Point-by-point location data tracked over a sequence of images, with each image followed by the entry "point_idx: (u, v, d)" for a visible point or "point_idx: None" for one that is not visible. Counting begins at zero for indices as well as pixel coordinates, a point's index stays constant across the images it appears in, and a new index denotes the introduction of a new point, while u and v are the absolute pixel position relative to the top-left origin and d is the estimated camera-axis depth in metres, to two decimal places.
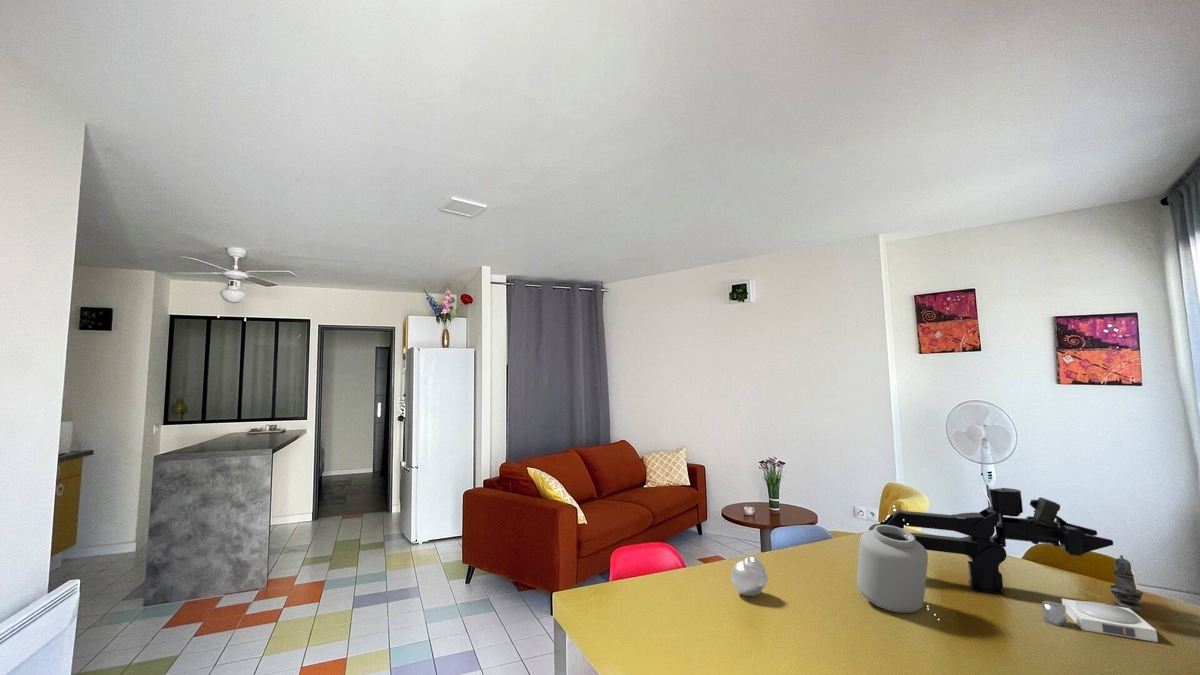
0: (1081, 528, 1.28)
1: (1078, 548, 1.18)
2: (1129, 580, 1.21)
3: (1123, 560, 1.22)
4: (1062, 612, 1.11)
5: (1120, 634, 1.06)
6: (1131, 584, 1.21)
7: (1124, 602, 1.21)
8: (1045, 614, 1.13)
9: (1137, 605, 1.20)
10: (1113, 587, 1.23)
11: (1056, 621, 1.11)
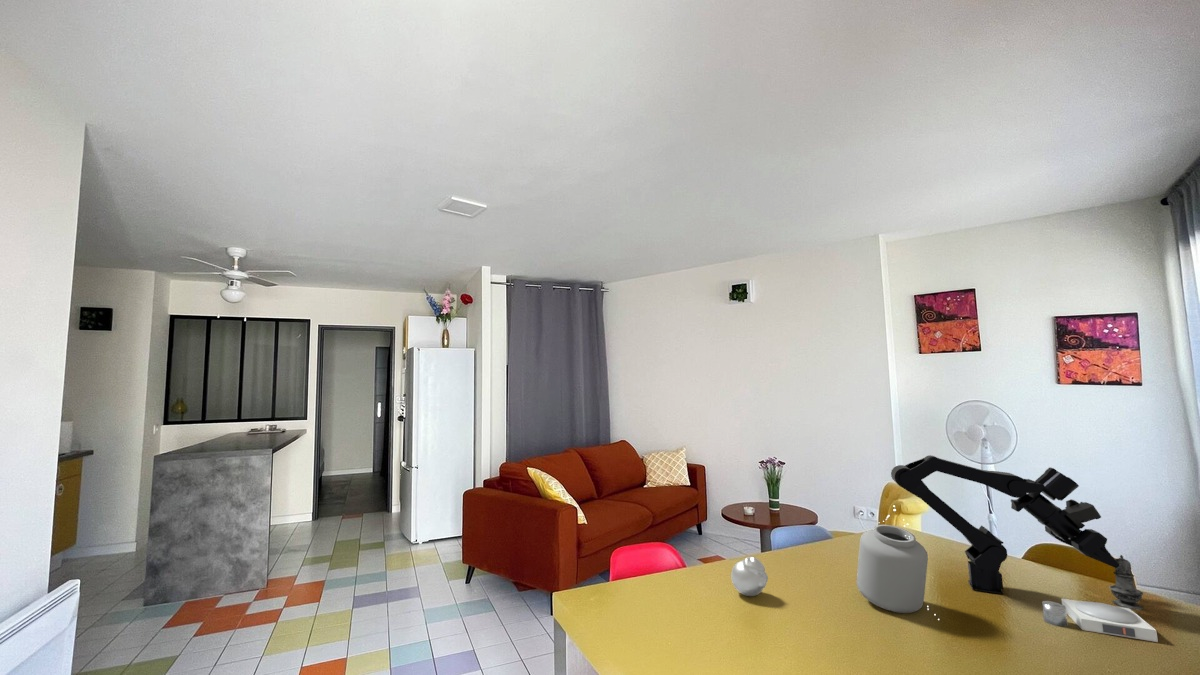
0: None
1: (1092, 550, 1.18)
2: (1129, 580, 1.21)
3: (1123, 560, 1.22)
4: (1062, 612, 1.11)
5: (1120, 634, 1.06)
6: (1131, 584, 1.21)
7: (1124, 602, 1.21)
8: (1045, 614, 1.13)
9: (1137, 605, 1.20)
10: (1113, 587, 1.23)
11: (1056, 621, 1.11)
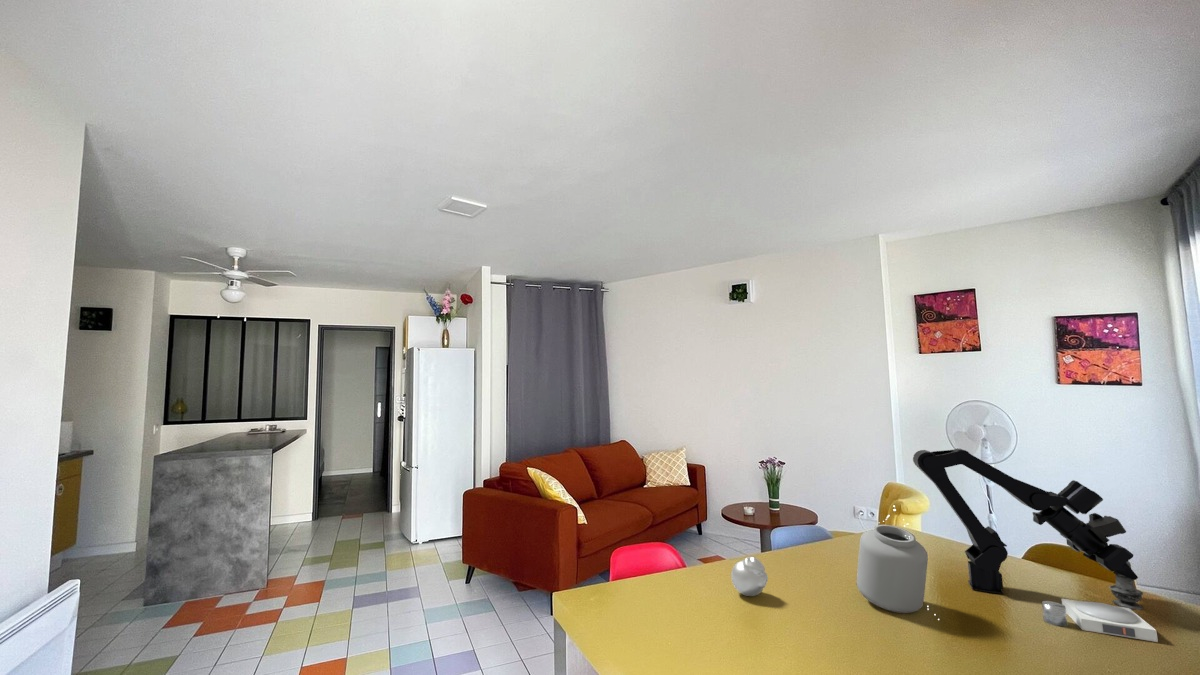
0: None
1: (1118, 565, 1.16)
2: (1129, 580, 1.21)
3: None
4: (1062, 612, 1.11)
5: (1120, 634, 1.06)
6: (1131, 584, 1.21)
7: (1124, 602, 1.21)
8: (1045, 614, 1.13)
9: (1137, 605, 1.20)
10: (1113, 587, 1.23)
11: (1056, 621, 1.11)
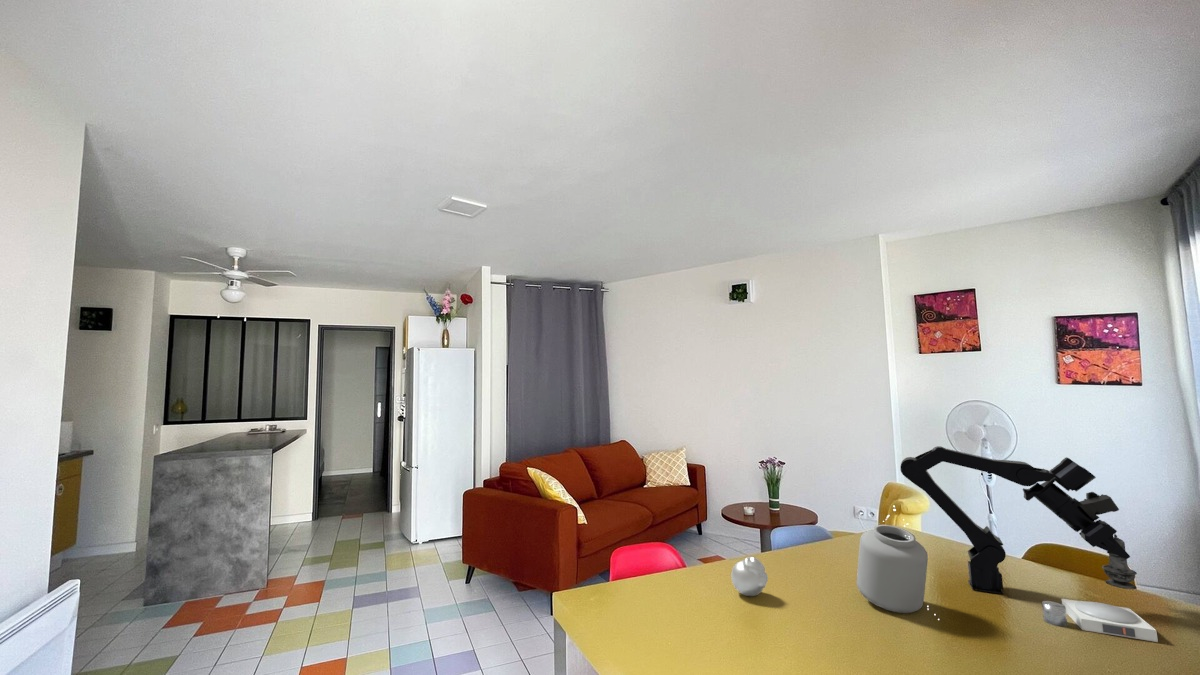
0: None
1: (1099, 541, 1.15)
2: (1121, 560, 1.18)
3: (1116, 539, 1.19)
4: (1062, 612, 1.11)
5: (1120, 634, 1.06)
6: (1123, 563, 1.18)
7: (1116, 581, 1.19)
8: (1045, 614, 1.13)
9: (1130, 585, 1.17)
10: (1106, 566, 1.21)
11: (1056, 621, 1.11)
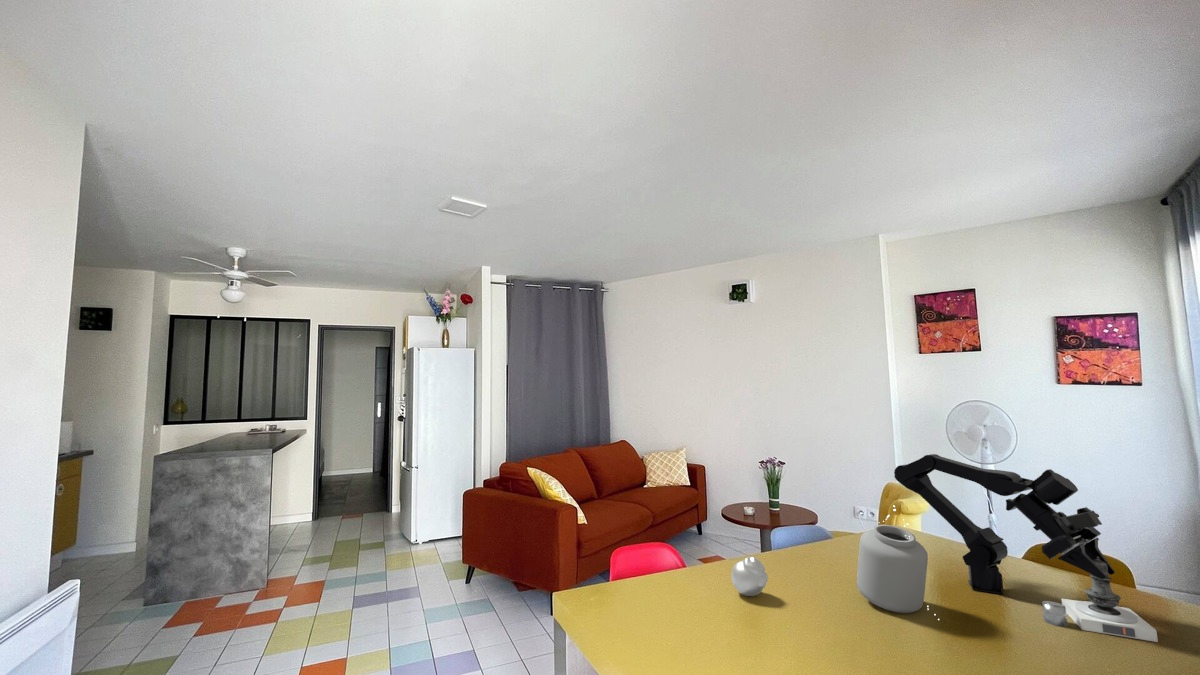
0: (1102, 560, 1.15)
1: (1053, 553, 1.13)
2: (1099, 583, 1.12)
3: (1096, 561, 1.13)
4: (1062, 612, 1.11)
5: (1120, 634, 1.06)
6: (1102, 587, 1.12)
7: (1097, 606, 1.13)
8: (1045, 614, 1.13)
9: (1110, 611, 1.10)
10: (1089, 589, 1.15)
11: (1056, 621, 1.11)
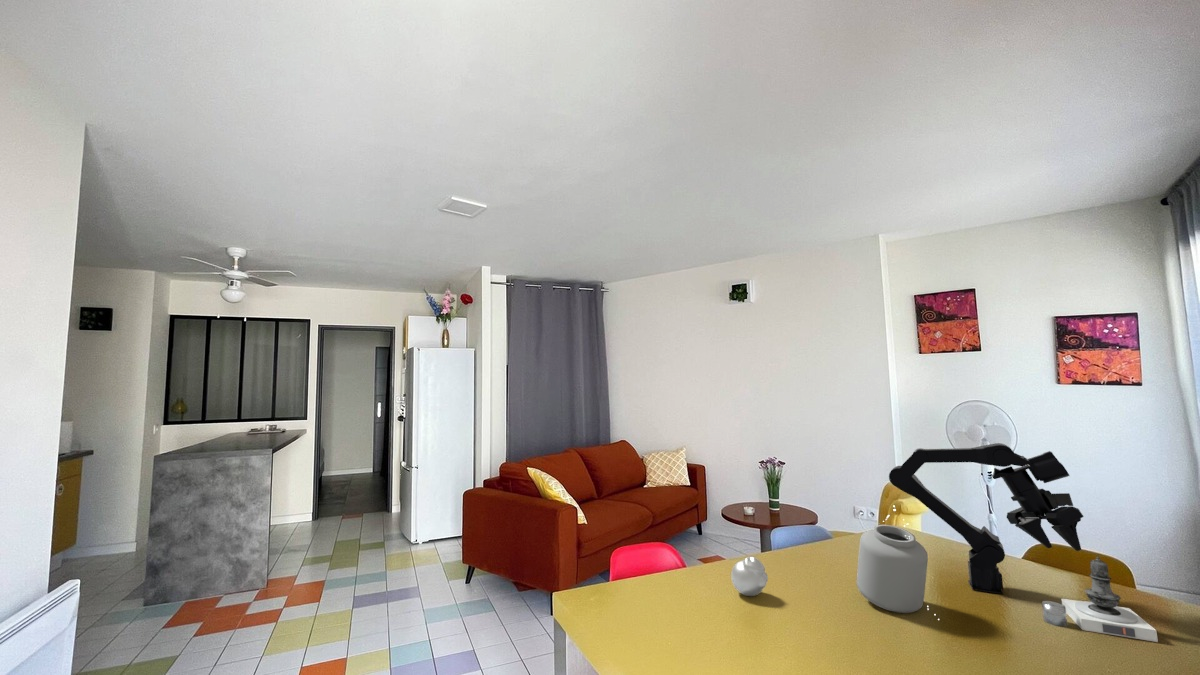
0: (1045, 535, 1.29)
1: (1068, 521, 1.18)
2: (1099, 583, 1.12)
3: (1096, 561, 1.13)
4: (1062, 612, 1.11)
5: (1120, 634, 1.06)
6: (1102, 587, 1.12)
7: (1097, 606, 1.13)
8: (1045, 614, 1.13)
9: (1110, 611, 1.10)
10: (1089, 589, 1.15)
11: (1056, 621, 1.11)
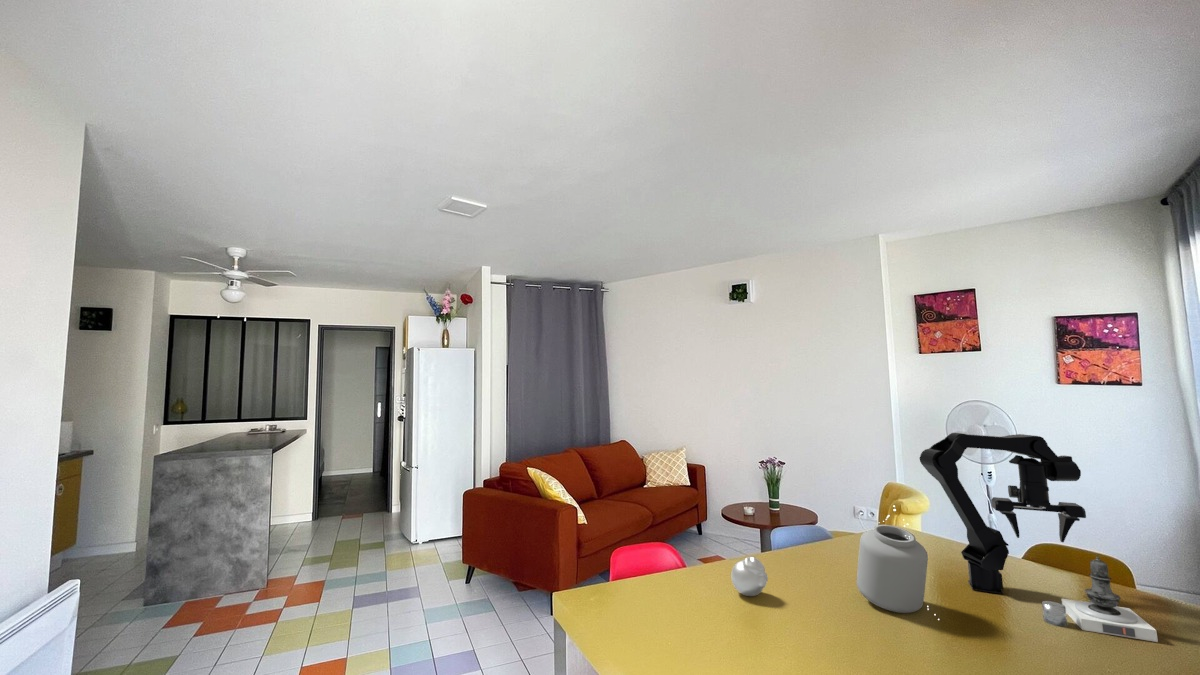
0: None
1: None
2: (1099, 583, 1.12)
3: (1096, 561, 1.13)
4: (1062, 612, 1.11)
5: (1120, 634, 1.06)
6: (1102, 587, 1.12)
7: (1097, 606, 1.13)
8: (1045, 614, 1.13)
9: (1110, 611, 1.10)
10: (1089, 589, 1.15)
11: (1056, 621, 1.11)
